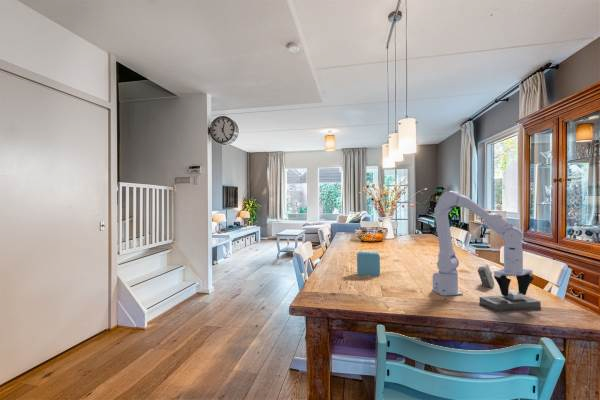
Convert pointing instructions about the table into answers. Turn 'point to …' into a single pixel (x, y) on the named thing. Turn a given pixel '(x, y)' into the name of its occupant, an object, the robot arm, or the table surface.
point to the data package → (368, 263)
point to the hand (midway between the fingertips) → (513, 294)
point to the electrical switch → (486, 276)
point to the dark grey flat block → (509, 303)
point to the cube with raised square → (514, 296)
